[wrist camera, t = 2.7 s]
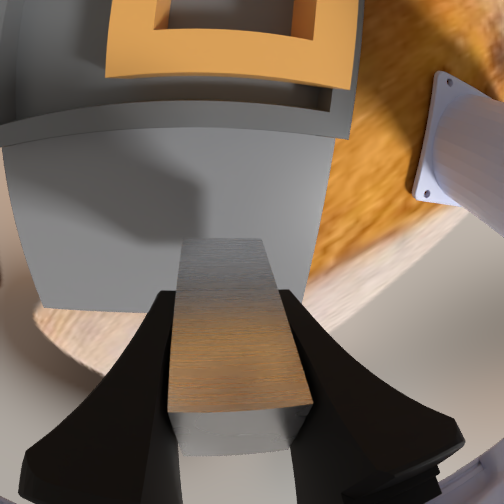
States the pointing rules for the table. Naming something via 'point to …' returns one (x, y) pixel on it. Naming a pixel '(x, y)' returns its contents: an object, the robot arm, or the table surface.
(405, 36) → the table surface
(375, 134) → the table surface
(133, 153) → the lid
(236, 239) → the grey rectangular block
